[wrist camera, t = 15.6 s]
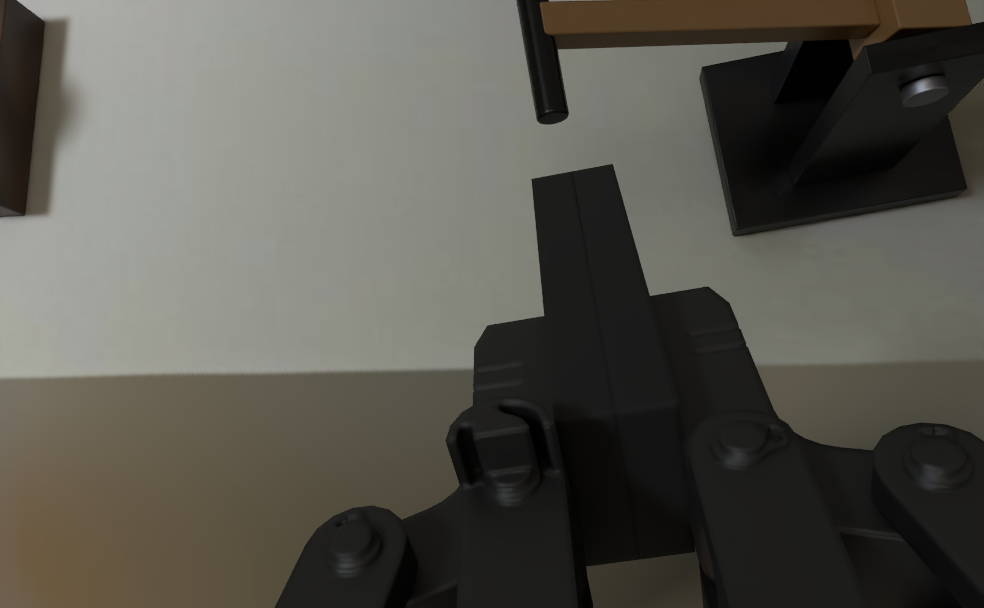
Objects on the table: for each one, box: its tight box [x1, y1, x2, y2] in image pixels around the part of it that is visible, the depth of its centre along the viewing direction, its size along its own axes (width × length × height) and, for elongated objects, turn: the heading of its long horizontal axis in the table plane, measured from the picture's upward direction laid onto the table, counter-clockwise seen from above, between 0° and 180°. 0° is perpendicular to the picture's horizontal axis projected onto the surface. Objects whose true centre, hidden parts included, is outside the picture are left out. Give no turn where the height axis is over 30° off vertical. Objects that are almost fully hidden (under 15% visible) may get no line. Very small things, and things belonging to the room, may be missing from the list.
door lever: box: [516, 0, 972, 124], centre depth 27 cm, size 15×6×2 cm, turn 98°
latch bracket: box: [699, 22, 984, 236], centre depth 33 cm, size 10×8×13 cm
